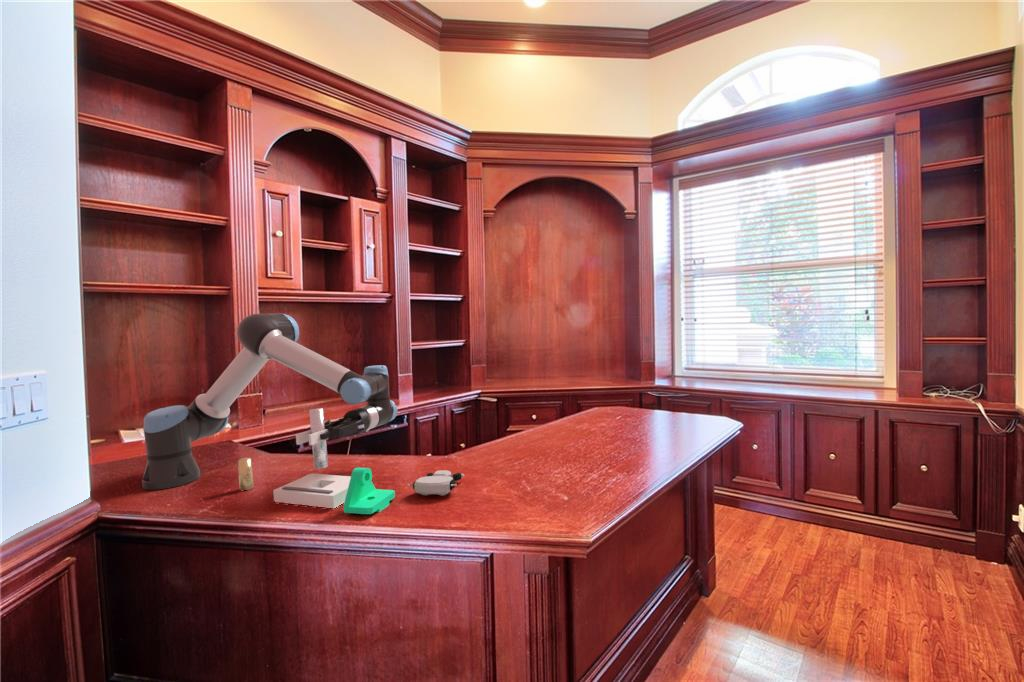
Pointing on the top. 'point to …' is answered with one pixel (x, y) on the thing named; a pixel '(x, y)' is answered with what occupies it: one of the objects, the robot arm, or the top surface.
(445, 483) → the robot toy
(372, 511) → the camera mount
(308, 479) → the hole plate
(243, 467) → the short pin
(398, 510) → the top surface
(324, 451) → the long pin
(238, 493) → the top surface
